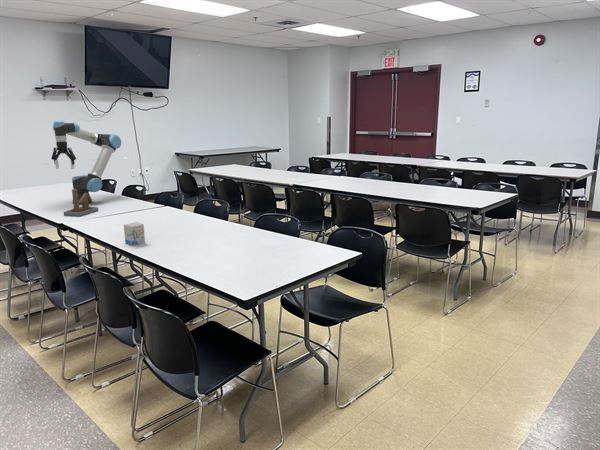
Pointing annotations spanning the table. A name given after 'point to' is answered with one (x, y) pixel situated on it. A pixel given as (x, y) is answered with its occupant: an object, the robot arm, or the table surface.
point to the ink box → (134, 233)
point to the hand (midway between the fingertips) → (65, 168)
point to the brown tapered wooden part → (82, 200)
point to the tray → (77, 214)
